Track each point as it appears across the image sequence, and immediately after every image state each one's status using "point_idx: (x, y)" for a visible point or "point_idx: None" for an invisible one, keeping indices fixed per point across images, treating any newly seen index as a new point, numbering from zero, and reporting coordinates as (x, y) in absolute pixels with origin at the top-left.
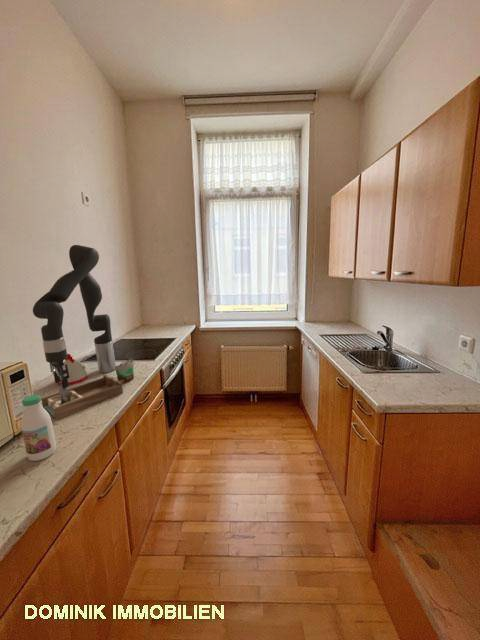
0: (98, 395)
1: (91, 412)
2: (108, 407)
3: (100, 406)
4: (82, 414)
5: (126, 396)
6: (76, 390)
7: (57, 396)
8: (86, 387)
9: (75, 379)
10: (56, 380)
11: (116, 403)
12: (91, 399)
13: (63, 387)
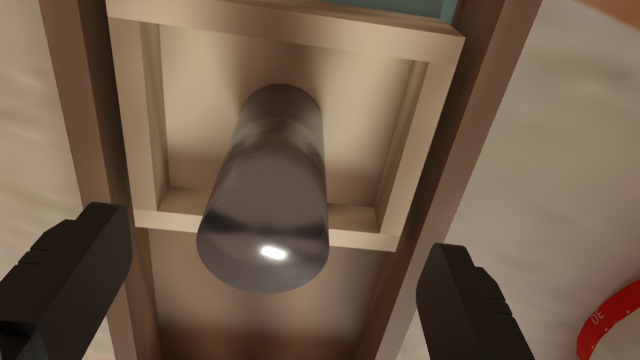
0: None
1: (10, 148)
2: (3, 236)
3: None
4: (27, 99)
5: None
6: (397, 263)
7: (408, 127)
8: (377, 314)
9: (617, 340)
10: (443, 280)
11: None
12: None
13: (88, 212)
